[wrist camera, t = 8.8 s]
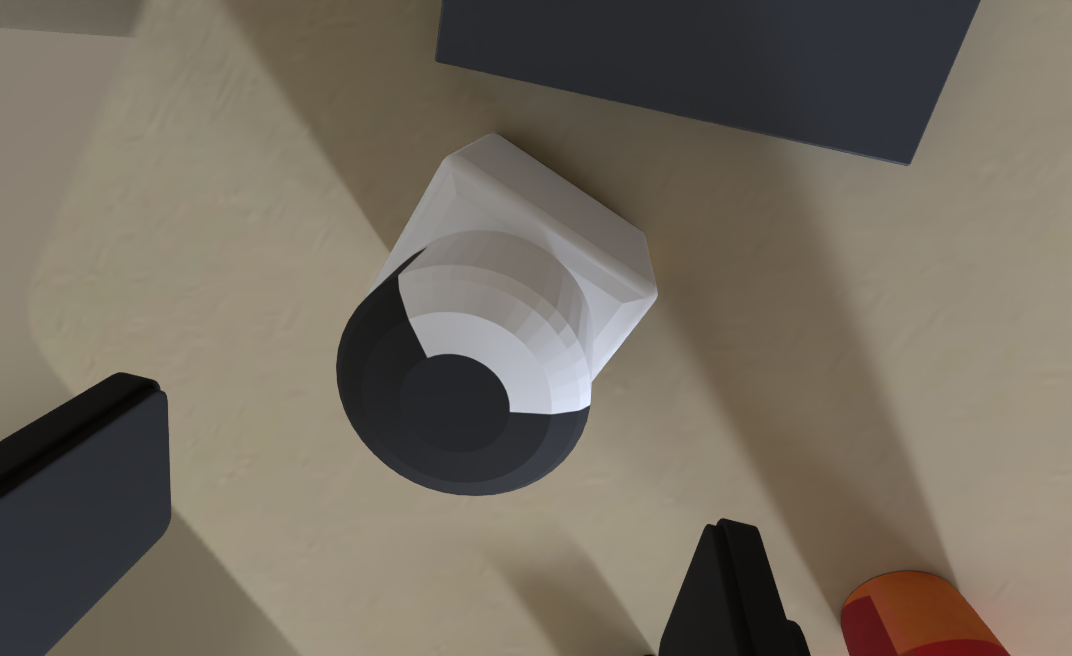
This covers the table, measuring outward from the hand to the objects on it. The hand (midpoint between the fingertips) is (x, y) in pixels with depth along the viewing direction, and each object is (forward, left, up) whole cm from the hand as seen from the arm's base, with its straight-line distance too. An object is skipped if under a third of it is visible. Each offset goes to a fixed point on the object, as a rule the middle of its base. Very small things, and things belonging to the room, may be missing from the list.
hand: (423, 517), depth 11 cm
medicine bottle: (0, 0, -16) cm, 16 cm away
